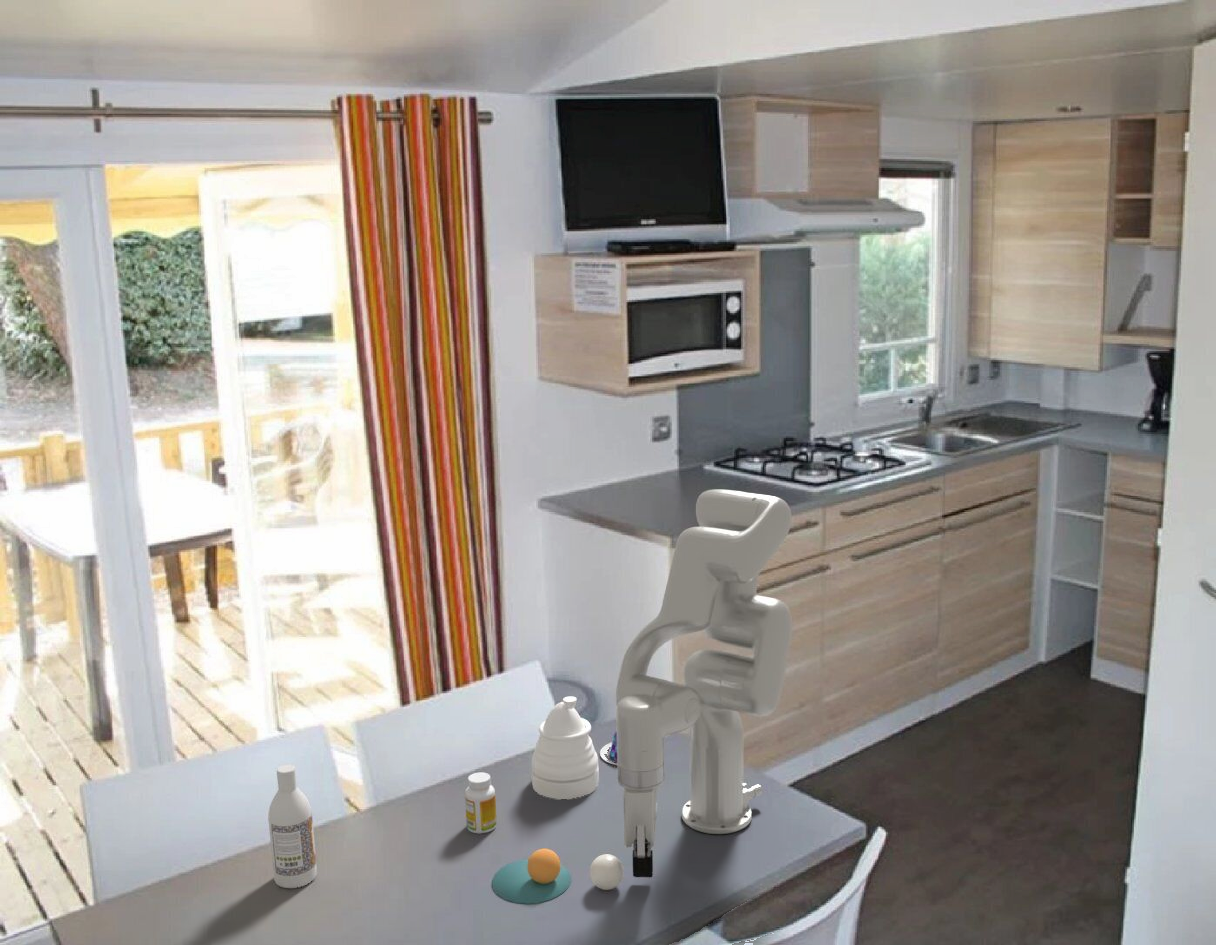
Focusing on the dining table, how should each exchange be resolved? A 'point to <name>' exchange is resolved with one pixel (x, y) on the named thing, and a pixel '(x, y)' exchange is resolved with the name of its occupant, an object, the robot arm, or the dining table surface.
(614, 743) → the pudding
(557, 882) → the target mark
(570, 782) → the honey pot
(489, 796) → the supplement bottle
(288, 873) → the bath foam
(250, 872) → the dining table surface
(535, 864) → the orange ball
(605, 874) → the white ball
